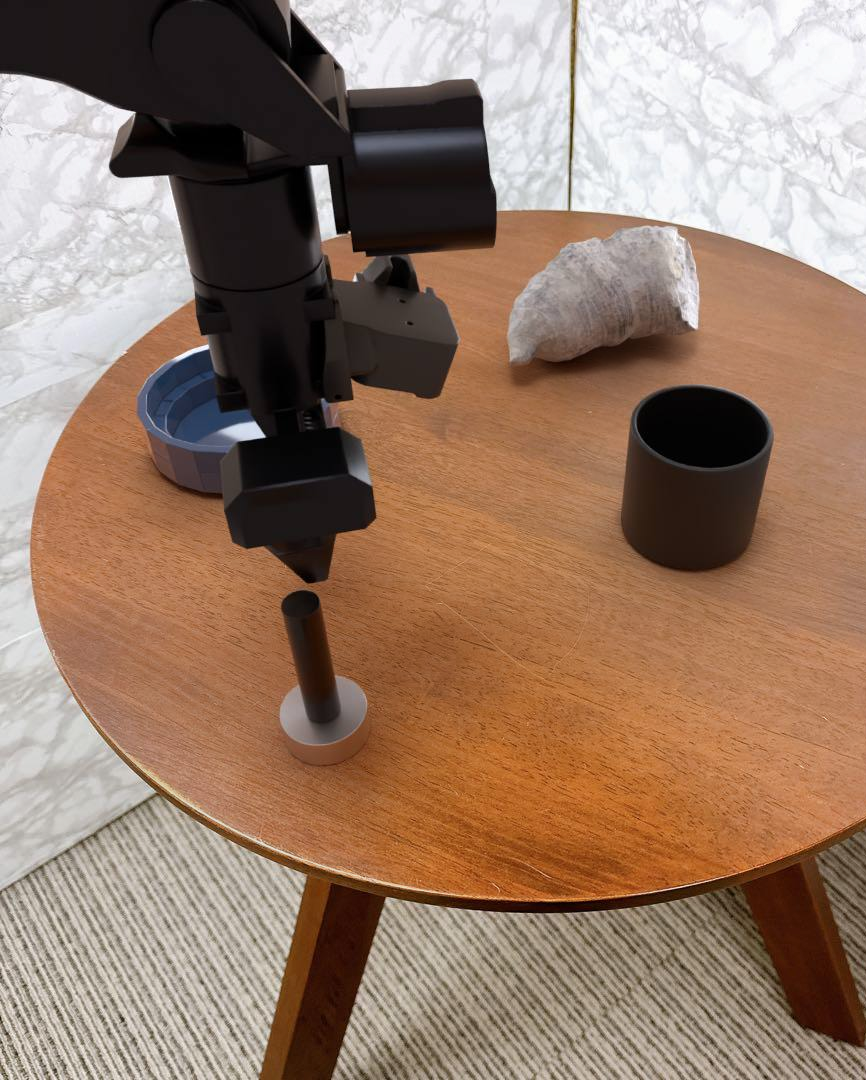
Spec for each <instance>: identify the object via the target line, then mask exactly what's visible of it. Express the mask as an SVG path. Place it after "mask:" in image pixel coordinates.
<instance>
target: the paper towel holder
mask: <svg viewBox="0 0 866 1080" xmlns="http://www.w3.org/2000/svg"><path fill="white" fill-rule="evenodd" d="M322 607H323V606H322V602H321V598H320V596H319V595H318V594H317V593H316V592H315V591H312V590H309V589H297V590H294V591H292V592H289V593H288V594H287V595H285V597H283V599H282V600H281V603H280V610H281V614H282V618H283V622H284V627H285V632H286V635H287V640H288V643H289V644H288V645H289V648H290V652H291V657H292V660H293V661H292V662H293V664H294V669H295V673H296V677H297V681H298V684H297V685H295V686H294V687H293V688H291V690H290V691H288V693H287V694H286V695H285V697H284V698H283V700H282V702H281V704H280V707H279V712H278V716H279V717H278V719H279V724H280V728H281V731H282V736H283V739H284V742H285V744H286V748H287V749H288V751H289V752H290V754H292V755H293V756H294V757H295V758H296V759H298V760H299V761H301V762H303V763H306V764H309V765H313V766H330V765H335V764H339V763H342V762H344V761H346V760H348V759H350V758H352V757H353V756H354V755H356V754H357V753H358V752H359V751H360V750H361V749H362V748H363V747H364V745H365V744H366V741H367V740H368V738H369V735H370V732H371V718H370V717H371V716H370V711H369V705H368V700H367V696H366V694H365V692H364V691H363V689H362V687H360V686H359V684H357V683H356V682H354V681H353V680H351V679H349V678H347V677H344V676H342V675H336V674H335V668H334V664H333V659H332V658H333V657H332V653H331V647H330V643H329V638H328V633H327V628H326V624H325V623H326V622H325V617H324V613H323V608H322Z"/></svg>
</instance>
